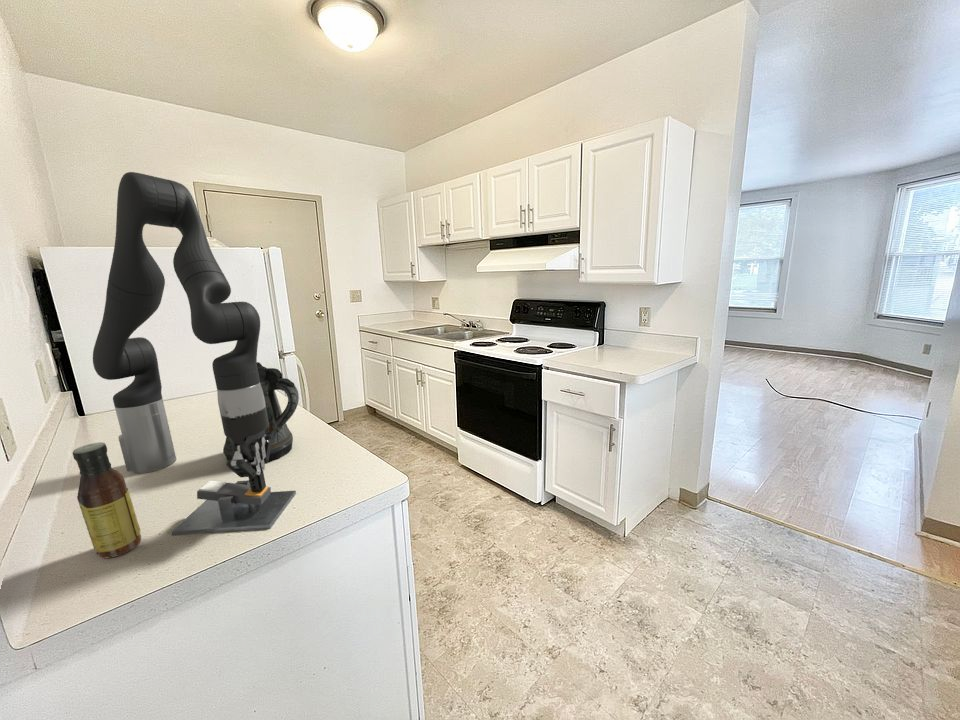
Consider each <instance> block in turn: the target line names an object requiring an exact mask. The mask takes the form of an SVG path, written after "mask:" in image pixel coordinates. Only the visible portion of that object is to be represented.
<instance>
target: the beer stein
mask: <svg viewBox="0 0 960 720" xmlns="http://www.w3.org/2000/svg"><path fill="white" fill-rule="evenodd" d="M257 368H258V374H259V379H260V384H261V387H262V390H263V394H264V399H265V404H266V410H267V416H268V421H269V427H268V428H267V429H266V430H265V431H264V432H265V435H272V443H271V449H270V455H269V461H268V463H267V464H269V463H272V462H274V461H278V460H279V459H282V458H283V457H284V456H286V455H287V454H289V453H290V452H291V451H292V449H293V441H294V437H293V433H292V431H290V429H289V427H288V424H287V422H288V421H289V420H290V419H291V417H292V416H293V415H294V413H295V412H296V410H297V409H298V408H297V407H298V404H299V400H300V397H299V395H300V394H299V391H298V388H297V387H296V385H295V383H294V382H293V381H291V379H289V378H286V377H284V378H283V373H282V372H281V371H280V370H279V369H278V368H274V367H273V368H272V367H266V366H264V365H262V364H261V362H258V361H257ZM277 390H278V391H279V390H280V391H282V392H284V393H285V394H286V396H287V404H286V406H285V408H284V410H283V411H282V409H281V408H282V407H281V405H280V402H279V399H278V396H277V393H276V391H277ZM222 451H223V454H224V456H225V458H226V462H227V461H228V460H233V457H234V454H235V453H234V452H233V440H232V439H231V438H229V437H227V436H225V441H224V445H223V449H222Z"/></svg>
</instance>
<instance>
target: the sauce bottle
mask: <svg viewBox="0 0 960 720" xmlns="http://www.w3.org/2000/svg"><path fill="white" fill-rule="evenodd" d="M72 456H73V460H75V461H76V463H77V466H78V469H79V475H80V479H79V483H78V484H79V486H78V490H77V495H76V496H77V497H76V498H77V502H78V505H79V509H80V510H81V514H82V518H83V520H84V523H85V526H86V529H87V532H88V535H89V538H90V540H91V545H92V546H93V549H94V551H95V552H96V555H97V556H98V557H99V558H104V559H108V558H110V559H111V558H115V557H118V556H121V555H124V554H126V553H128V552H130V551H131V550H132V549H134V548H135V547H137V546H138V545H139V544H140V542H141V541H142V535H141V528H140V524H139V520H138V518H137V513H136V511H135V507H134V504H133V501H132V496H131V494H130V490H129V488H128V487H127V483H126V481H125V480H126V479H125V478H124V476H123V474H122V473H120V471H119V470H116V469H114V468H113V467H112V463H111V462H110V459H109V456H108V447H107V444H106V443H105V442H102V441H101V442H100V441H99V442H93V443H89V444H85V445H82V446H79V447H76V448H75V449H74V450H73V451H72Z"/></svg>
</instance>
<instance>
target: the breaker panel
mask: <svg viewBox="0 0 960 720" xmlns="http://www.w3.org/2000/svg"><path fill="white" fill-rule="evenodd" d="M235 483H236V484H245V485H250V482H249V479H248V480H237V481H236V482H235ZM296 494H297V490H285V491H284V490H283V491H282V490H281V491H271V493H270V495H269V497H268V498H267V499H266V500H265V501H264V502H263V504H262V505H252V504H243V503H235V501H234V496H229V497H220V498H219V499H218V501H214V500H204V502H203V503H201V504H200V505H199V506H197V508H195V510H194V511H192V512H191V513H190V514H189V515H188V516H187V517H186V518H185V519H184V520H182V521H181V522H180V523H179V524H178V525H177V526H175V527H174V528H173V529H172V530H171V532H170V533H171V536H179V535H197V534H210V533H211V534H212V533H226V532H227V533H228V532H238V531H253V530H270V529H271V528H272V527H273V526H274V524H275V523H276V522H277V520H279V518H280V516H282V514H283V512H284V511H285V510H286V508H287V507H288V506H289V504H290V502H291V501H292V500H293V498H294V497H295V496H296Z"/></svg>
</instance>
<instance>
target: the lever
mask: <svg viewBox="0 0 960 720" xmlns="http://www.w3.org/2000/svg"><path fill="white" fill-rule="evenodd" d="M271 489H272V488H271V487H270V486H266V487H265V488H264V489H263V491H262V492H252V491H251V487H250V485H245V484H236V482H235V483H234V482H227V481H218V480H209V481H208V482H207V483H205V484H204V485H203V486H201V488H199V489H198V490H197V491H196V494H197V495H196V499H197V500H204V501H206V500H214V501H218V499H219V498H220V497H229V496H234V501H235V503H243V504H252V505H262V504H263V502H264V501H265V500H266V499H267V498H268V497H269V495H270V493H271V492H272V491H271Z"/></svg>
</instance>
